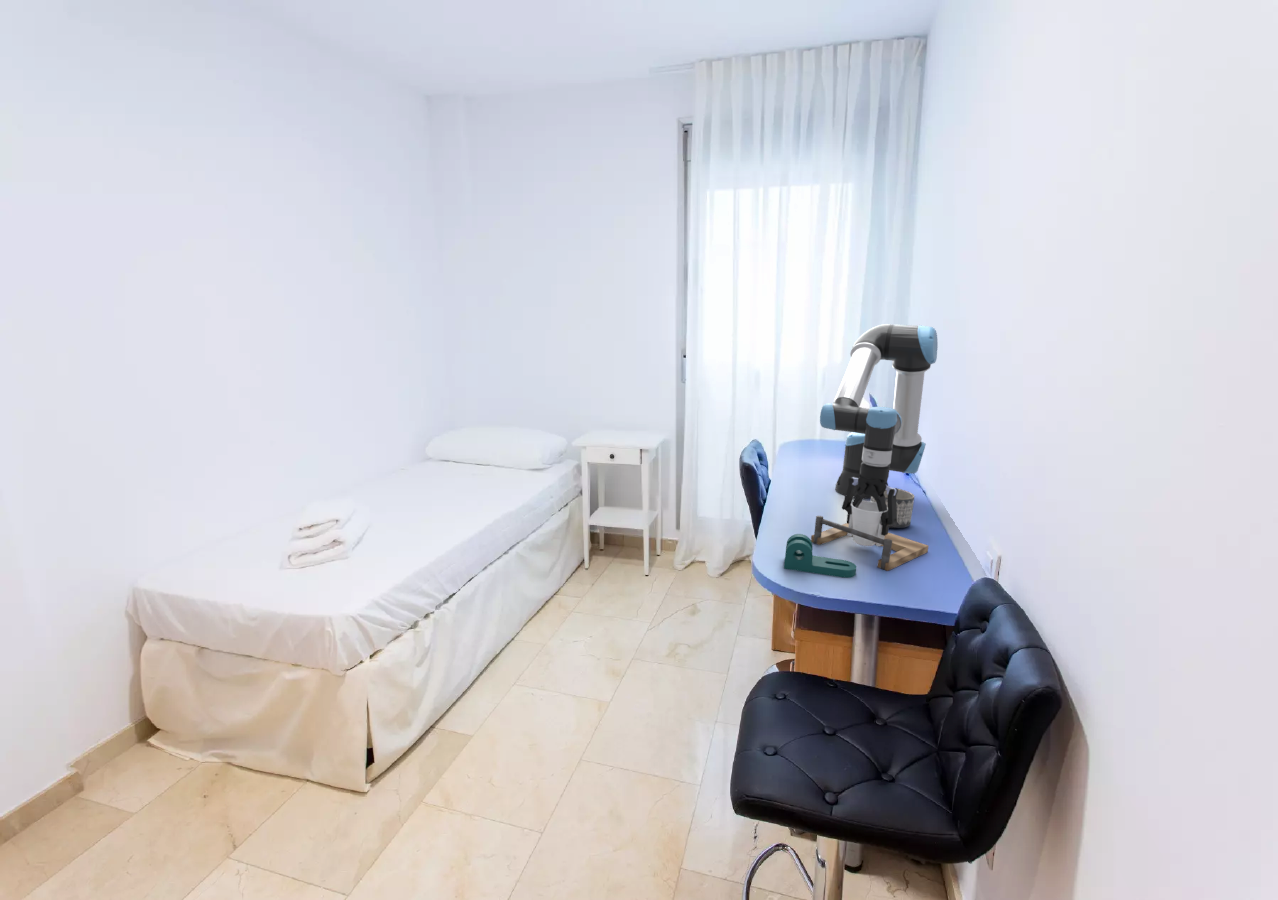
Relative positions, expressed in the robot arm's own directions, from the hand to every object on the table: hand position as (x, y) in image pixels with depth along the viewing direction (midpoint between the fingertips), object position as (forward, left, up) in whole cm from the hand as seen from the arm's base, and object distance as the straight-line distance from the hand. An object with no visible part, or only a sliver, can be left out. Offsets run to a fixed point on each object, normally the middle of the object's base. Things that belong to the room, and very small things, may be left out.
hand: (865, 539), depth 172 cm
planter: (-26, -7, -3) cm, 27 cm away
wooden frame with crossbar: (-2, 0, -3) cm, 4 cm away
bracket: (+23, +1, -3) cm, 23 cm away
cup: (0, 0, -1) cm, 1 cm away
